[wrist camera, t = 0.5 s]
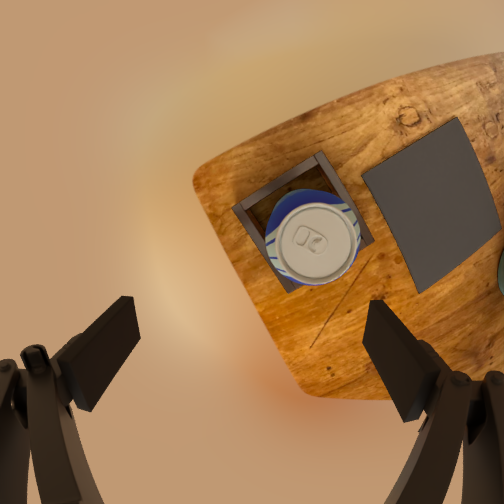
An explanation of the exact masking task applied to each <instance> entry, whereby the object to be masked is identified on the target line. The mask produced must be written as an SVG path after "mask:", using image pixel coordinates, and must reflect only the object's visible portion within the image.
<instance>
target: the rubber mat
mask: <svg viewBox="0 0 504 504" xmlns="http://www.w3.org/2000/svg"><path fill="white" fill-rule="evenodd" d="M361 176H362V178H363V180H364V181H365V183H366V185H367V187H368V188H369V190H370V192H371V194H372V195H373V197H374V199H375V201H376V203H377V205H378V206H379V208H380V210H381V212H382V214H383V216H384V218H385V220H386V222H387V224H388V226H389V228H390V230H391V232H392V234H393V236H394V238H395V240H396V242H397V244H398V246H399V249H400V251H401V253H402V255H403V257H404V259H405V262H406V264H407V266H408V269H409V271H410V273H411V276H412V278H413V280H414V283H415V285H416V288H417V290H418V293H419V294H420V293H422V292H423V291H425V290H426V289H427V288H429V287H430V286H432V285H433V284H434V283H436V282H437V281H438V280H440V279H441V278H443V277H444V276H445V275H447V274H448V273H449V272H450V271H452V270H453V269H454V268H456V267H457V266H458V265H460V264H461V263H462V262H463V261H465V260H466V259H467V258H468V257H469V256H471V255H472V254H473V253H474V252H476V251H477V250H478V249H479V248H480V247H481V246H483V245H484V244H485V243H486V242H487V241H488V240H490V239H491V238H492V237H493V236H494V235H495V234H496V233H497V232H498V231H500V230H501V229H502V228H501V224H500V220H499V217H498V213H497V210H496V207H495V204H494V201H493V198H492V195H491V192H490V189H489V186H488V184H487V181H486V178H485V176H484V173H483V171H482V168H481V166H480V163H479V161H478V159H477V156H476V154H475V152H474V149H473V147H472V145H471V143H470V141H469V139H468V137H467V135H466V133H465V131H464V129H463V127H462V125H461V123H460V121H459V119H458V117H456V118H454V119H452V120H451V121H449V122H447V123H446V124H444V125H442V126H441V127H439V128H437V129H436V130H434V131H433V132H431V133H429V134H428V135H426V136H424V137H423V138H421V139H419V140H418V141H416V142H414V143H413V144H411V145H410V146H408V147H406V148H405V149H403V150H401V151H400V152H398V153H397V154H395V155H393V156H392V157H390V158H388V159H387V160H385V161H383V162H382V163H380V164H379V165H377V166H375V167H374V168H372V169H370V170H369V171H367V172H366V173H364V174H362V175H361Z"/></svg>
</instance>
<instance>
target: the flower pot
mask: <svg viewBox="0 0 504 504" xmlns="http://www.w3.org/2000/svg"><path fill="white" fill-rule="evenodd" d="M498 283H499V288H500V291H501V292H502V294H503V295H504V251H503V253H502V256H501V259H500V263H499V269H498Z"/></svg>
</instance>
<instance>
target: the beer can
mask: <svg viewBox="0 0 504 504" xmlns="http://www.w3.org/2000/svg"><path fill="white" fill-rule="evenodd" d="M360 239H361V237H360V228H359V224H358V221H357V218H356V216H355V214H354V213H353V211H352V210H351V208H350V207H349V206H348V205H347V204H346V203H345V202H344V201H343V200H341V199H340V198H339V197H337V196H335V195H333V194H331V193H328V192H324V191H319V190H312V189H296V190H293V191H290V192H288V193H287V194H285V195H284V196H282V197H281V198H280V199H279V201H278V202H277V203H276V205H275V207H274V209H273V212H272V214H271V216H270V219H269V221H268V224H267V228H266V234H265V242H266V249H267V252H268V255H269V258H270V260H271V262H272V263H273V265H274V266H275V268H276V269H277V270H278V271H279V272H280V273H281V274H282V275H283V276H285V277H286V278H288V279H289V280H291V281H293V282H296V283H299V284H303V285H313V286H314V285H322V284H326V283H329V282H332V281H334V280H336V279H337V278H339V277H340V276H342V275H343V274H344V273H345V272H346V271H347V270H348V269H349V268H350V267H351V265H352V264H353V262H354V261H355V259H356V257H357V254H358V251H359V247H360Z"/></svg>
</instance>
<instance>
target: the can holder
mask: <svg viewBox="0 0 504 504" xmlns="http://www.w3.org/2000/svg"><path fill="white" fill-rule="evenodd" d="M314 166H316V168H317V169H318V171H319V172H320V174H321V176H322V177H323V179H324V180H325V182H326V183H327V185H328V187H329V188H330V190H331V192H332V193H333V195H335V196H337V197H339V198H340V199H341V200H343V201H344V202H345V203H346V204H347V205H348V206H349V207H350V208H351V210H352V211H353V213H354V214H355V216H356V218H357V221H358V224H359V228H360V237H361V239H360V247H359V251H360V250H362V249H363V248H365V247H367V246H368V245H370V244H371V243H373V242H374V241H375V240H374V238H373V236H372V235H371V233H370V231H369V229H368V227H367V225H366V223H365V221H364V220H363V218H362V216H361V214H360V212H359V211H358V209H357V207H356V205H355V204H354V202H353V200H352V198H351V197H350V195H349V193H348V192H347V190H346V188H345V186H344V185H343V183H342V182H341V180H340V178H339V177H338V175H337V173H336V172H335V170H334V169H333V167H332V165H331V164H330V162H329V161H328V159H327V158H326V156H325V155H324V153H323V151H322V150H321V151H319V152H318V153H316V154H314V155H313V156H311V157H309V158H308V159H306V160H304V161H303V162H301V163H300V164H298V165H296V166H295V167H293V168H292V169H290V170H288V171H287V172H285V173H284V174H282V175H280V176H279V177H277V178H276V179H274V180H273V181H271V182H269V183H268V184H266V185H265V186H263V187H262V188H260V189H259V190H257V191H256V192H254V193H253V194H251V195H250V196H248V197H246V198H245V199H243V200H242V201H240V202H239V203H237V204H236V205H234V206H233V207H232V210H233V211H234V213H235V214H236V216H237V217H238V219H239V220H240V222H241V223H242V225H243V226H244V228H245V229H246V231H247V232H248V234H249V235H250V237H251V238H252V240H253V241H254V243H255V245H256V246H257V248H258V249H259V251H260V252H261V254H262V255H263V257H264V258H265V260H266V261H267V263H268V264H269V266H270V267H271V269H272V270H273V272H274V273H275V275H276V276H277V278H278V279H279V281H280V282H281V284H282V285H283V287H284V289H285V290H286V292H287V293H288V294H289V293H291V292H292V291H294V290H296V289H297V288H299V287H301V286H303V284H299V283H296V282H293V281H291V280H289V279H288V278H286V277H285V276H283V275H282V274H281V273H280V272H279V271H278V270H277V269H276V268H275V266H274V265H273V263H272V262H271V260H270V258H269V255H268V252H267V249H266V242H265V232H264V231H263V229H262V228H261V226H260V224H259V223H258V221H257V220H256V218H255V217H254V215H253V214H252V212H251V211H250V209H249V208H250V207H251V206H253V205H254V204H256V203H257V202H259V201H260V200H262V199H263V198H265V197H266V196H268V195H270V194H271V193H273V192H274V191H276V190H277V189H279V188H281V187H282V186H284V185H285V184H287V183H288V182H290V181H292V180H293V179H295V178H296V177H298V176H300V175H301V174H303V173H304V172H306V171H308V170H309V169H311V168H312V167H314ZM359 251H358V252H359Z"/></svg>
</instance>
